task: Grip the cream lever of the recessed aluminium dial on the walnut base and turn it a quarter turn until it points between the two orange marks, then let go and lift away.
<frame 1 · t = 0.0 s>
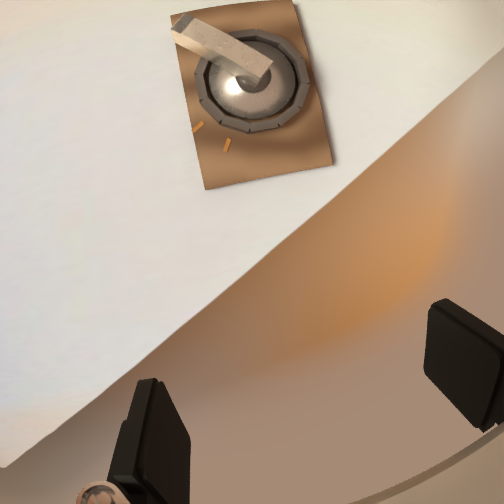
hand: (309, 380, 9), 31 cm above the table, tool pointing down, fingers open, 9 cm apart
dial: (235, 61, 30), point 5 cm above the table, hinge at 0.0°
dial base: (249, 85, 35), on the table
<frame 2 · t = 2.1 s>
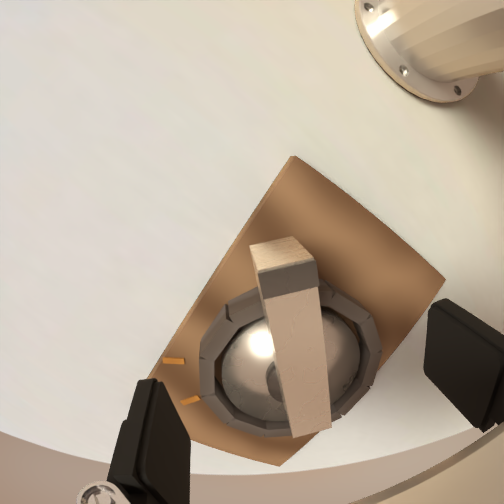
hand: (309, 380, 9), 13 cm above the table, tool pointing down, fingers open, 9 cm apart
dial: (294, 360, 18), point 5 cm above the table, hinge at 0.0°
dial base: (285, 348, 24), on the table
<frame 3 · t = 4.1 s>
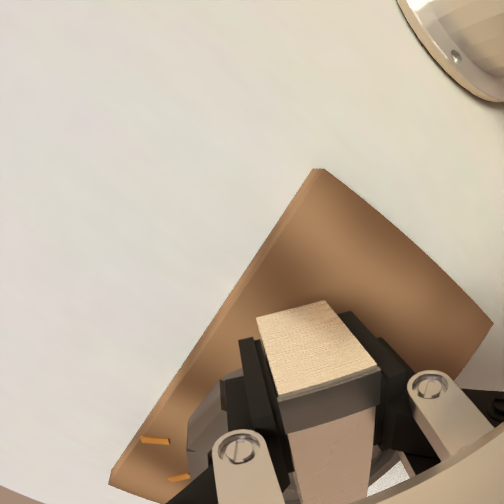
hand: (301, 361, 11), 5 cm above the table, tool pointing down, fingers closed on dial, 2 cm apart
dial: (316, 456, 12), point 5 cm above the table, hinge at 0.0°, touching gripper
dial base: (297, 419, 17), on the table
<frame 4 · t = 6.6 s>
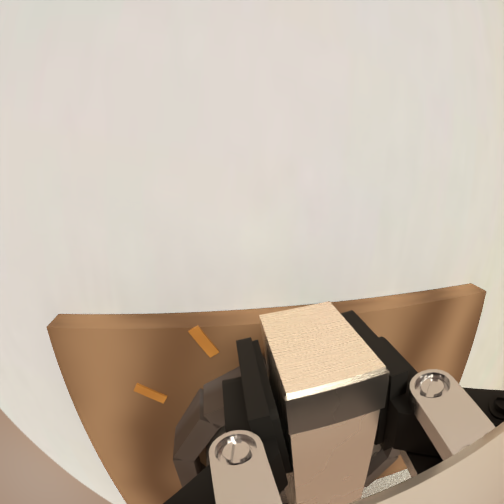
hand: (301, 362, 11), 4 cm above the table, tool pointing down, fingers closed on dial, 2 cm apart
dial: (308, 460, 11), point 5 cm above the table, hinge at 51.8°, touching gripper
dial base: (288, 422, 17), on the table
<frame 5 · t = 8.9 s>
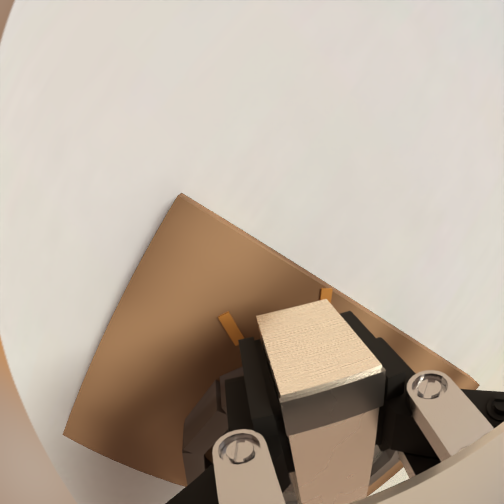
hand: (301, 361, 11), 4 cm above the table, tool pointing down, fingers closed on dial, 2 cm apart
dial: (315, 457, 11), point 5 cm above the table, hinge at 89.0°, touching gripper
dial base: (295, 419, 17), on the table
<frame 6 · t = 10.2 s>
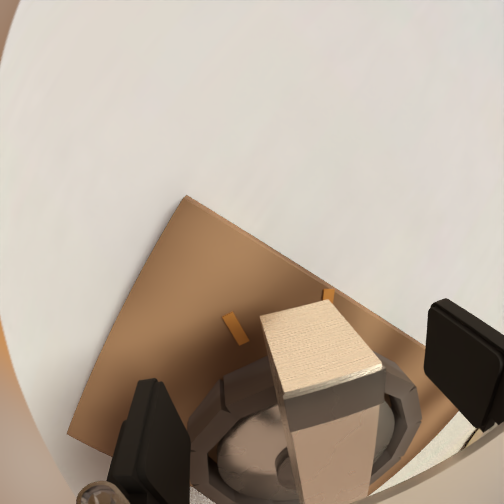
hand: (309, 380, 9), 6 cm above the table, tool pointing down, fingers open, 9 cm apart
dial: (317, 456, 12), point 5 cm above the table, hinge at 89.2°
dial base: (297, 419, 17), on the table
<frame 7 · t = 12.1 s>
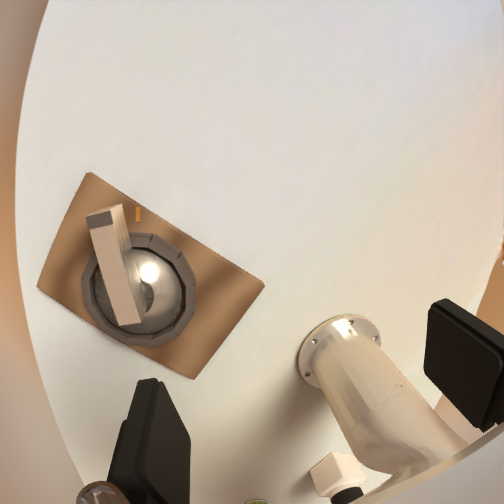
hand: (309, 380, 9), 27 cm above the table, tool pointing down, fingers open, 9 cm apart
dial: (126, 279, 30), point 5 cm above the table, hinge at 89.2°
medicine bottle: (332, 462, 51), on the table
supplement bottle: (255, 503, 53), on the table
dial base: (142, 283, 36), on the table
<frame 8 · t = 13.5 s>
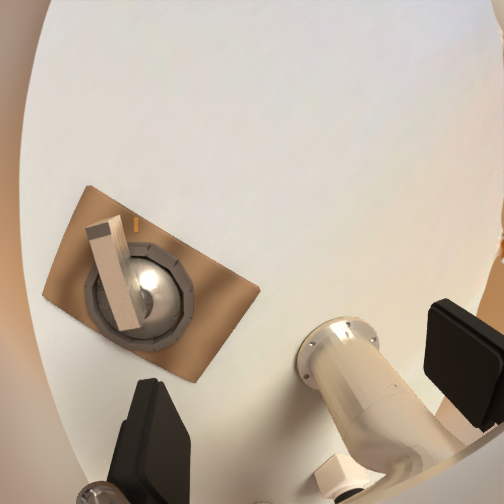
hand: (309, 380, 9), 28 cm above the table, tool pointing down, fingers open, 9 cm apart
dial: (126, 286, 32), point 5 cm above the table, hinge at 89.2°
medicine bottle: (336, 464, 51), on the table
dial base: (142, 290, 37), on the table
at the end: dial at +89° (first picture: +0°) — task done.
